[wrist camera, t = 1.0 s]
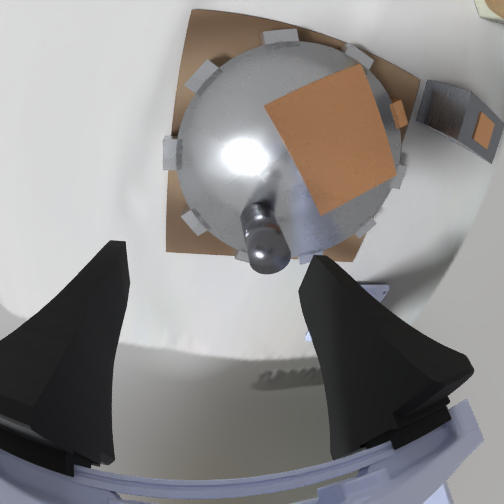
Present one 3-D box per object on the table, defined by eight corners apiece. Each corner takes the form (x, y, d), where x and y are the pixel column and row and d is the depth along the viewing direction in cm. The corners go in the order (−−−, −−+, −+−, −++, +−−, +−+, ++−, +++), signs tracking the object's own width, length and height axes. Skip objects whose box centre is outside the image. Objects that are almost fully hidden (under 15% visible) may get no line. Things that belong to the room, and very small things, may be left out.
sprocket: (357, 262, 25) (383, 304, 20) (161, 251, 21) (153, 304, 16) (425, 84, 14) (476, 100, 10) (185, 11, 10) (174, -16, 6)
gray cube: (454, 142, 18) (492, 164, 14) (415, 120, 17) (458, 140, 13) (465, 106, 16) (505, 124, 12) (426, 79, 15) (472, 92, 11)
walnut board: (351, 260, 25) (352, 262, 25) (166, 250, 21) (166, 251, 21) (418, 79, 15) (420, 80, 14) (192, 10, 11) (191, 9, 11)
